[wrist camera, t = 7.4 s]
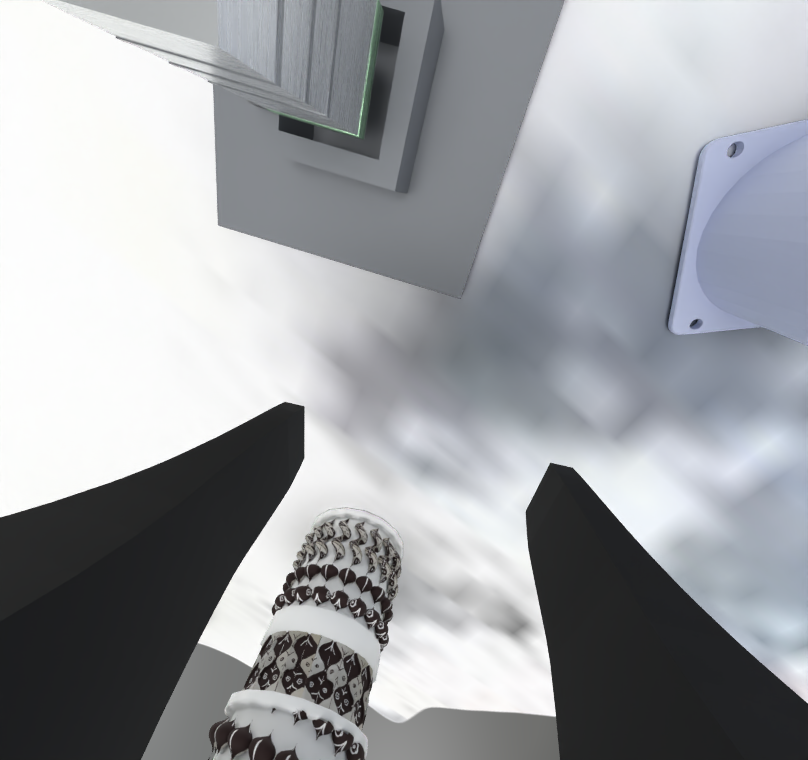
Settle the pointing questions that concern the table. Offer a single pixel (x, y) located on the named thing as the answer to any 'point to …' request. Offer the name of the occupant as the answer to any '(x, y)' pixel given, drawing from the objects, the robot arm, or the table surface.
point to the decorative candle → (319, 648)
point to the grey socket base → (395, 145)
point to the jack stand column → (260, 49)
